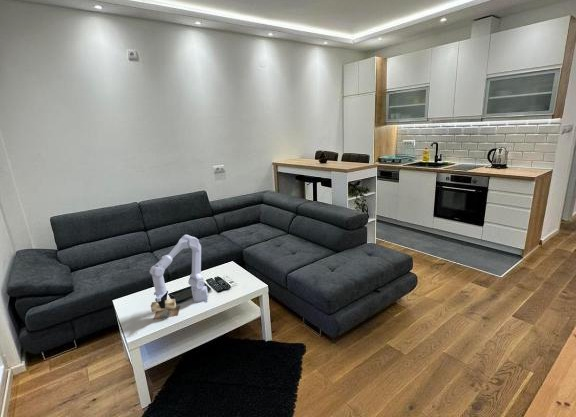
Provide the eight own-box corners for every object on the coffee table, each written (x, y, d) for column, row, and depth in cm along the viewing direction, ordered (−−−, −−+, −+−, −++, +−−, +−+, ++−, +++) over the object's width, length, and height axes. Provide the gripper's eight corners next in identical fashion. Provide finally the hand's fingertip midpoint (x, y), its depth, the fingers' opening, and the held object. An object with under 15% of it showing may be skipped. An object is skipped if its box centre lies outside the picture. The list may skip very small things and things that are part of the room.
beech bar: (176, 304, 183) (174, 298, 182) (174, 308, 179) (173, 302, 178) (153, 308, 181) (152, 302, 180) (151, 311, 177) (150, 305, 176)
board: (180, 306, 191) (180, 305, 191) (177, 316, 181) (177, 315, 181) (157, 310, 189) (157, 309, 189) (153, 320, 179) (152, 319, 178)
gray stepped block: (171, 313, 184) (170, 309, 183) (169, 316, 180) (169, 313, 179) (162, 314, 183) (161, 311, 182) (160, 318, 179) (160, 314, 179)
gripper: (155, 280, 183) (159, 300, 186) (149, 292, 169) (153, 314, 172) (167, 278, 184) (171, 298, 187) (162, 290, 170) (166, 311, 173)
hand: (163, 305), depth 180 cm, fingers closed on beech bar, 4 cm apart
